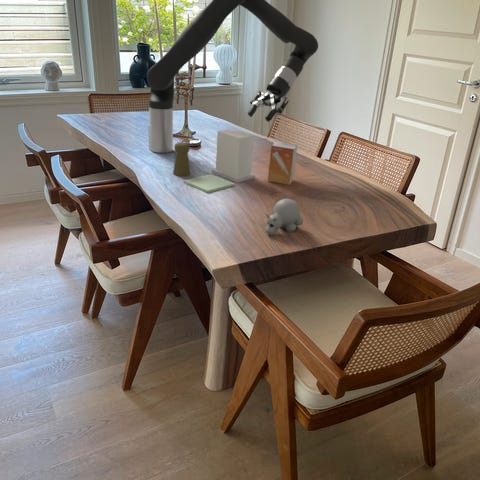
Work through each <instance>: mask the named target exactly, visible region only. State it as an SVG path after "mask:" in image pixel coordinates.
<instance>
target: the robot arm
mask: <svg viewBox="0 0 480 480" xmlns="http://www.w3.org/2000/svg"><path fill="white" fill-rule="evenodd" d="M239 6H241V7H243V8H244V9H245V10H247V11H249V12H250V13H251V14H253V15H254V16H255V17H256V18H257V19H258V20H259V21H260V22H261V23H262V24H263V25H264V26H265V27H266V28H267V29H268V30H269V31H270V32H271V33H272V34H273V35H274V36H275V37H277V38H278V39H279V40H280V41H281V42H282V43H284V44H289V43H292V44H294V47H293V48H292V49H291V51H290V52H289V54H288V56H287V58H286V59H285V60H284V62H283V63H282V64H281V66H280V67H279V68H278V70H277V71H276V72H275V74H274V75H273V77H272V79H271V80H270V81H269V82H268V84H267V85H266V90H265V91H264V92H262V91H261V90H260V89H258V90H257V91H256V92H255V93H254V95H253V96H252V98H251V99H250V100H249V104H250V105H251V106H250V108H249V109H248V111H247V115H248V116H249V117H250V118H252V117H253V116H254V114H255V113H256V112H257V109H259V108H263V107H264V106H266V107H270V108H271V109H270V110H269V111H268V113H266V116H265V119H264V120H265V121H266V122H268V123H269V122H271V120H272V119H273V118H274V117H275V115H276V114H279V115H280V114H282V113H283V112H284V110H285V108H286V107H287V106H288V103H289V102H290V101H289V99H288V97H287V95H288V93H289V91H290V90H291V89H292V87H293V86H294V83H296V82H295V81H296V80H297V79H298V77H299V75H300V74H301V72H302V71H303V69H304V66H305V64H306V62H307V61H308V60H309V59H310V58H311V57H312V56H313V55H314V54H316V52H317V51H318V49H319V42H318V40H317V37H315V36H314V35H313V34H312V33H310V32H308V31H307V30H305V29H303V28H301V27H299V26H298V25H295V23H294V22H293V21H291V19H289V18H288V17H287V16H286V15H284V14H283V13H282V12H281V11H280V10H278V9H277V8H276V7H275V6H273V5H272V4H271V3H269V2H268V1H267V0H210V2H209V3H208V4H207V5H206V6H205V7H204V8H202V10H200V12H199V13H197V14H196V16H195V17H194V18H193V19H192V20H191V21H190V22H189V24H187V25H186V27H185V28H184V29H183V31H182V32H181V33H180V34H179V35H178V36H177V38H176V40H175V41H174V42H173V44H172V45H171V47H170V48H169V49H168V51H167V52H166V53H165V54H164V55H163V56H162V57H161V58H160V59H159V60H158V61H157V62H155V63H154V65H152V66H151V67H150V68H149V69H148V71H147V73H146V74H147V75H146V82H147V84H148V87H150V95H149V100H148V114H149V118H148V119H149V125H148V149H149V150H150V151H151V152H152V153H153V152H154V153H158V154H159V153H160V154H161V153H163V154H166V153H171V152H173V149H174V148H173V147H174V133H173V132H174V111H173V109H174V99H175V97H174V96H175V77H176V76H177V75H178V73H179V71H181V69H182V68H183V67H184V66H185V65H187V63H188V62H190V61H191V60H192V59H193V58H195V57H196V56H197V55H198V54H199V53H200V52H201V51H202V50H203V49H204V48H205V47H206V46H207V45H208V44H209V42H210V41H211V40H212V39H213V38H214V36H215V35H216V33H217V32H218V31H219V29H220V27H221V26H222V24H223V23H224V21H225V20H226V18H227V17H228V16H229V15H230V14H231V13H232V12H233V11H234V10H235V9H236V8H237V7H239Z"/></svg>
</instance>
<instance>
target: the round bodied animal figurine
mask: <svg viewBox="0 0 480 480" xmlns="http://www.w3.org/2000/svg"><path fill="white" fill-rule="evenodd" d="M272 212H273V213H272V214H271V215H270V214H268V213H266V214H265V216H266V217H267V219H266V224H267V225H265V226H264V230H265V232H266V233H267V235H269V236H270V235H271V236H273V235H275V234H276V232H277V230H279V229H283V228H285V230H286V231H287V233H288V232H289V233H291V232H295V231H296V229H297V227H296V226H301V225H303V223H304V219H303V216H302V215H300V214H301V210H300V206H299V204H298V203H297V201H295V200H294V199H290V198H282V199H280V200H278V202H276V203H275V204H274V207H273V210H272Z"/></svg>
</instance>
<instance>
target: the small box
mask: <svg viewBox="0 0 480 480" xmlns="http://www.w3.org/2000/svg"><path fill="white" fill-rule="evenodd" d="M270 148H271V149H270V157H269V165H268V166H269V167H268V173H267V174H268V176H267V182H270V183H271V182H272V183H277V184H281V185H282V184H283V185H287V184H288V186H290V185H291V183H292V182H293V181H294V177H295V176H294V175H295V167H296V160H297V159H296V158H297V152H298V144H294V143H289V142H287V143H286V142H280V141H275V142H273V144H272V145H271V147H270Z"/></svg>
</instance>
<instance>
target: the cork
mask: <svg viewBox="0 0 480 480" xmlns="http://www.w3.org/2000/svg"><path fill="white" fill-rule="evenodd" d="M173 147H174V148H173V149H174V151H175V158H174V165H173V175H174V176H177V177H188V176H190V175H191V170H190V169H191V168H190V160H189V152H190V145H189V144H188V143H186V142H183V141H182V142H177V143H175V145H174V146H173Z"/></svg>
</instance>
